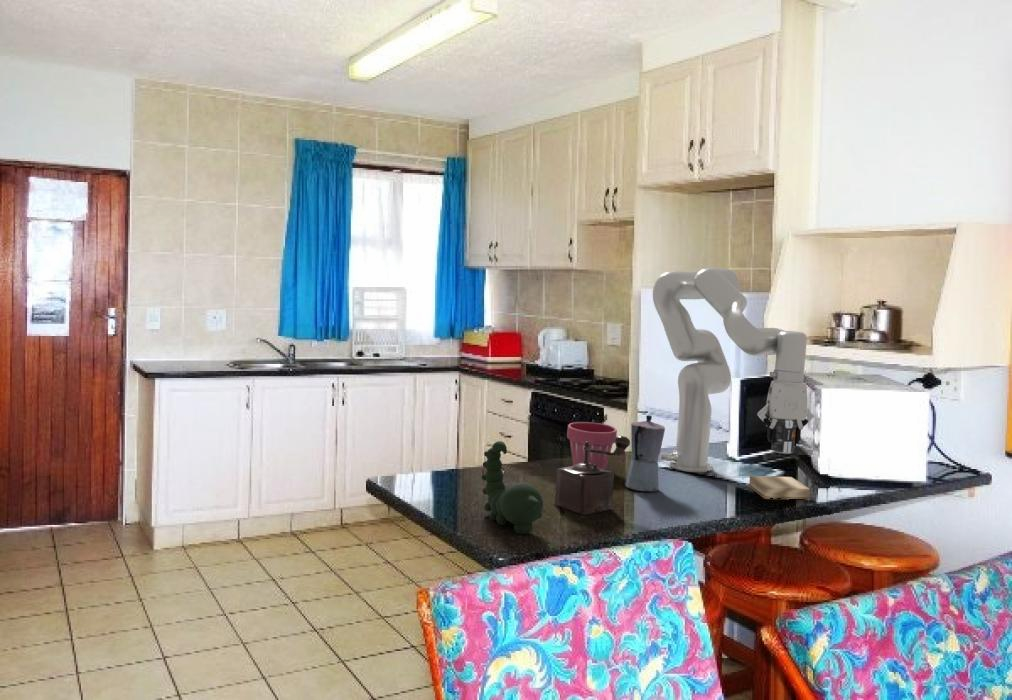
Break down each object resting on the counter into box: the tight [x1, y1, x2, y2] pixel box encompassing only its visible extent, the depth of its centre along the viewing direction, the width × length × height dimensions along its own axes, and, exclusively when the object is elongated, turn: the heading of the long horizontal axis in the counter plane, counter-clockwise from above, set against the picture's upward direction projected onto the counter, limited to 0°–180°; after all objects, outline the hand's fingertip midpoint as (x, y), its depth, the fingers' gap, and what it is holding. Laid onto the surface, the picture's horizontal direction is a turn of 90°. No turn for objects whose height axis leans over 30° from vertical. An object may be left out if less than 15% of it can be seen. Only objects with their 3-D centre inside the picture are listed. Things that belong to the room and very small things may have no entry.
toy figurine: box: [481, 440, 544, 535], centre depth 199 cm, size 9×19×25 cm
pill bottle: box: [771, 419, 796, 454], centre depth 238 cm, size 6×6×11 cm
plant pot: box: [566, 421, 618, 470], centre depth 253 cm, size 14×14×13 cm
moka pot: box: [624, 414, 666, 492], centre depth 236 cm, size 10×15×20 cm, turn 155°
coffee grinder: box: [554, 435, 631, 516], centre depth 217 cm, size 16×11×18 cm
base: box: [747, 475, 811, 500], centre depth 240 cm, size 13×13×3 cm
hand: (783, 442), depth 238 cm, fingers closed on pill bottle, 6 cm apart
